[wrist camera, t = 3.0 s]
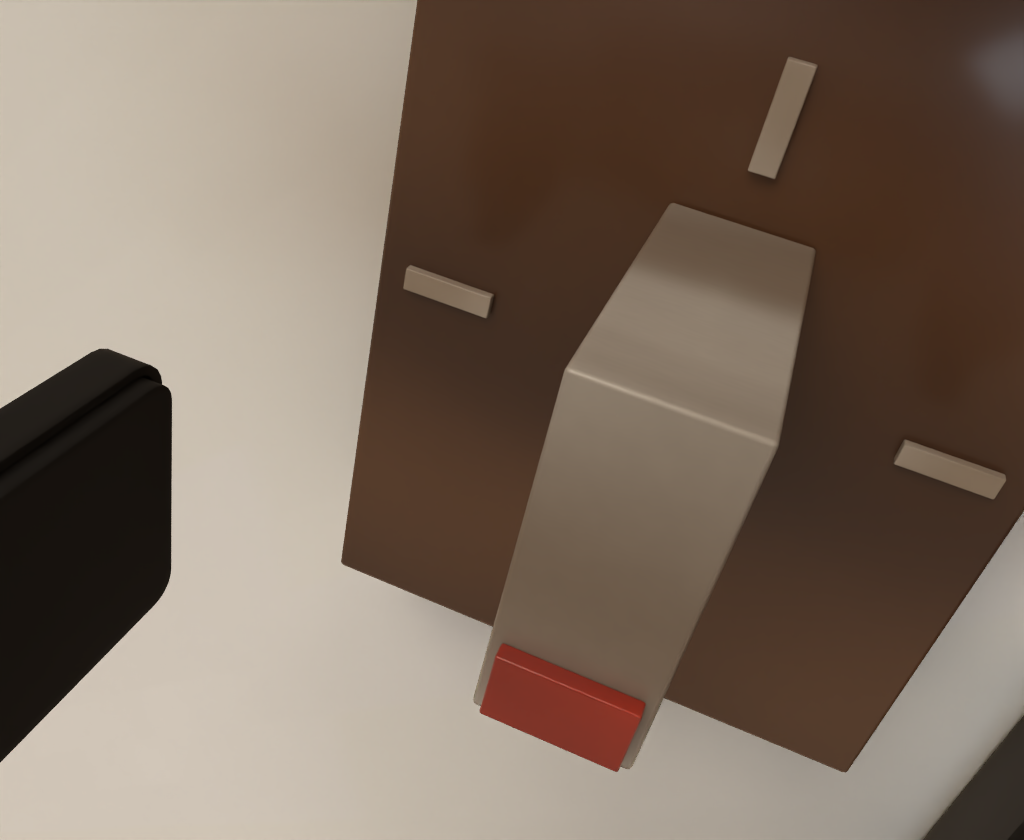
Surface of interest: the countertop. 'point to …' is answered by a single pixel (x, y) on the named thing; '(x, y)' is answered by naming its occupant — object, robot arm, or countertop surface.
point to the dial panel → (824, 334)
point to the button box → (989, 797)
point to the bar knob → (645, 483)
